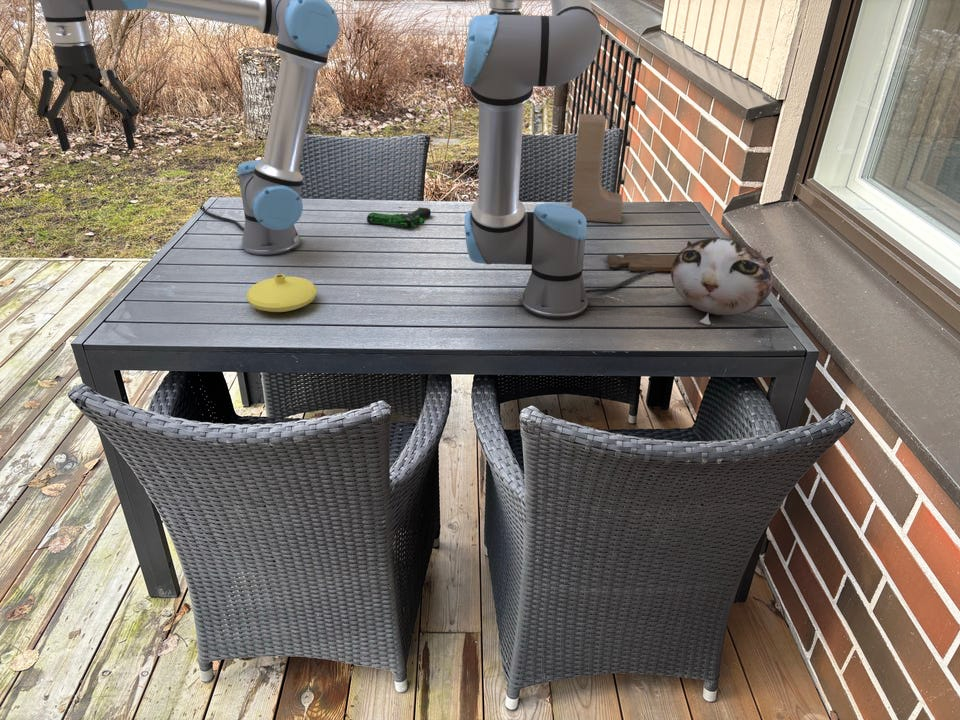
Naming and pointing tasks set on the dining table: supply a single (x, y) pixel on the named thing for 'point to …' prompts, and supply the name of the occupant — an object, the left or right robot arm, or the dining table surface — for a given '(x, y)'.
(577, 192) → the decorative block
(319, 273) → the dining table surface
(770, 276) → the cat face balloon
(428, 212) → the handgun
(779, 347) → the dining table surface
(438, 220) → the dining table surface
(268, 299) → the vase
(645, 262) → the wooden paddle board
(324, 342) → the dining table surface
